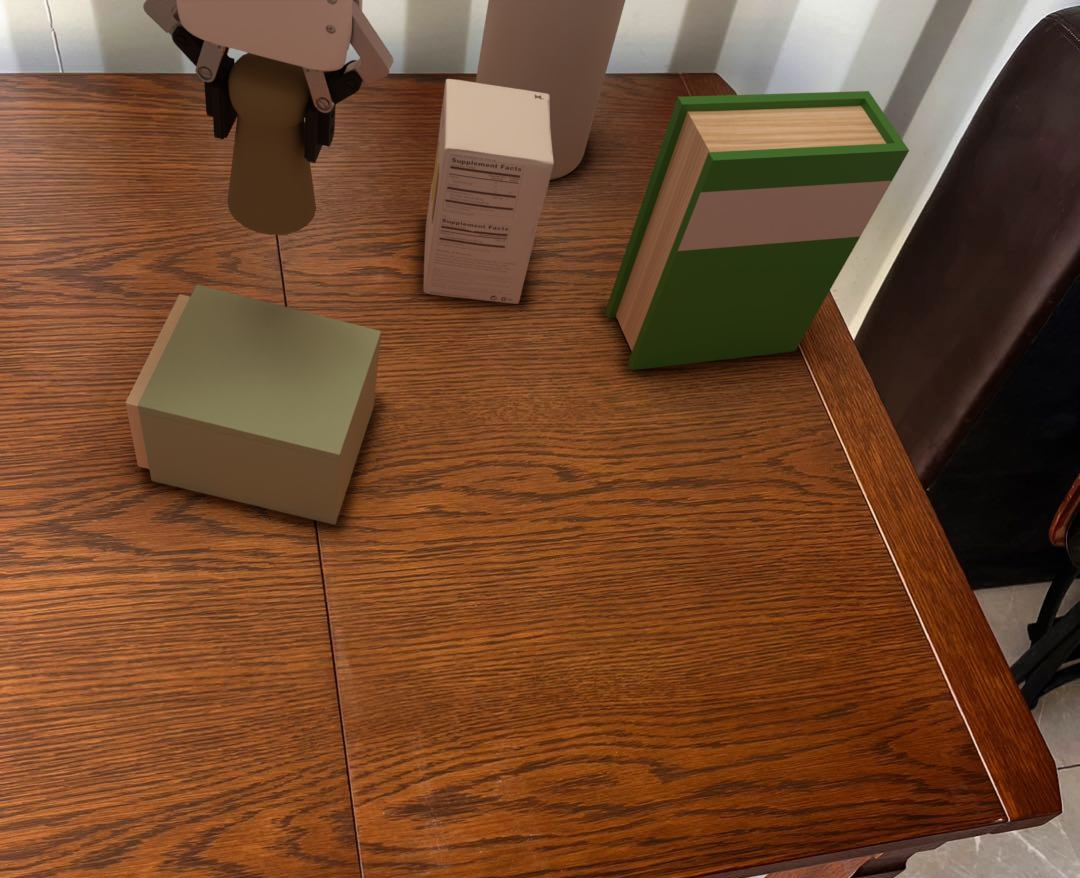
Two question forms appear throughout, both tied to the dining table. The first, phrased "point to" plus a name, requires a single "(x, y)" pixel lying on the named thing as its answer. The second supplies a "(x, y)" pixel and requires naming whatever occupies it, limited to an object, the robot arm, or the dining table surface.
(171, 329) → the drawer
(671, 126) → the hardback book
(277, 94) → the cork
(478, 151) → the supplement box
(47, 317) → the dining table surface
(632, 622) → the dining table surface
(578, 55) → the cylinder vase
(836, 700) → the dining table surface
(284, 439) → the cabinet
